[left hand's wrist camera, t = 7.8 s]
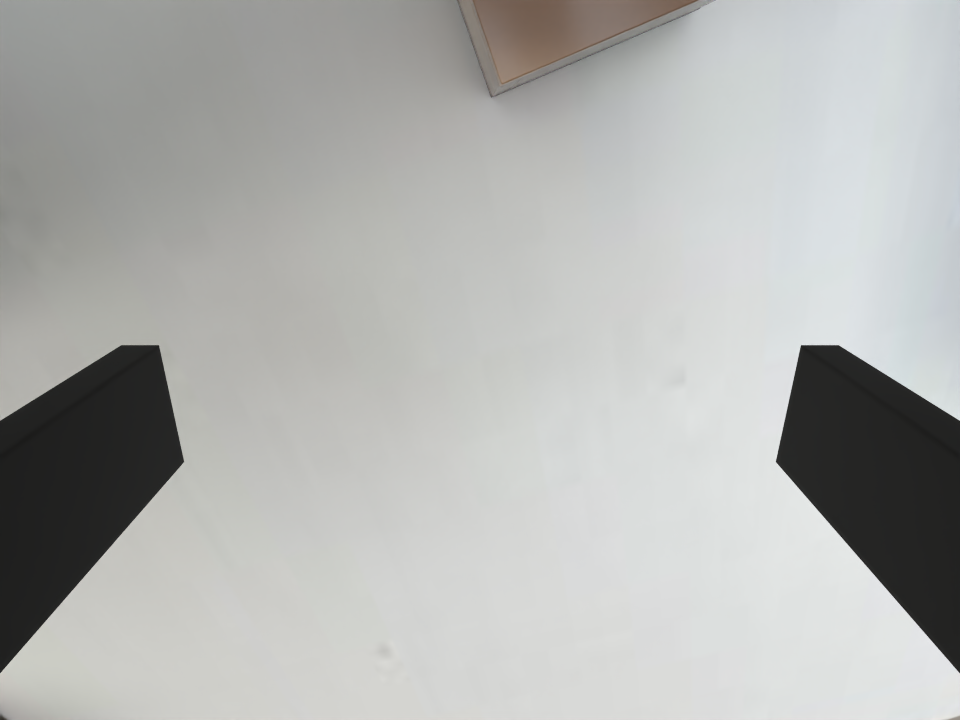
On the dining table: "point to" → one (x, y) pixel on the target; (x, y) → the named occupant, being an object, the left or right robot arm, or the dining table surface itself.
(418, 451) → the dining table surface
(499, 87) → the chest
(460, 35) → the dining table surface
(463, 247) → the dining table surface
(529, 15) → the lid
